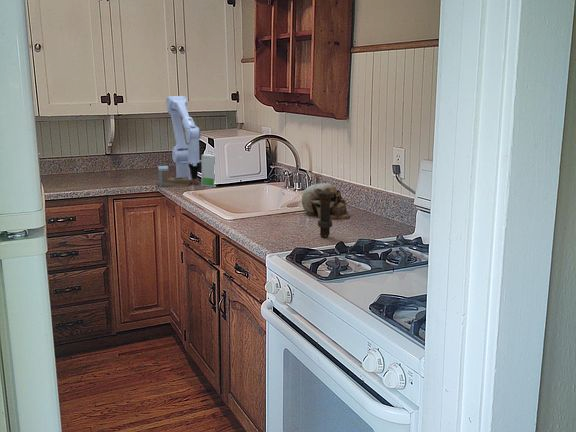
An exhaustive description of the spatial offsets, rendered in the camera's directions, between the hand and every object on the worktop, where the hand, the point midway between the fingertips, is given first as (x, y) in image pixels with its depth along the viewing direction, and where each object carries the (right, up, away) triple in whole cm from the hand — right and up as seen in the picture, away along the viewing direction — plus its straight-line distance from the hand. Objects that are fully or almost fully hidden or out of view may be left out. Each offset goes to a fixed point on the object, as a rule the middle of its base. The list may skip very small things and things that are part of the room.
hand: (194, 178), depth 306 cm
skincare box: (+10, -4, -8) cm, 13 cm away
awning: (-14, -4, -6) cm, 16 cm away
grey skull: (+63, -19, -76) cm, 100 cm away
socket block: (-9, -4, -5) cm, 10 cm away
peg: (0, -2, 0) cm, 2 cm away
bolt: (+60, -26, -109) cm, 127 cm away
